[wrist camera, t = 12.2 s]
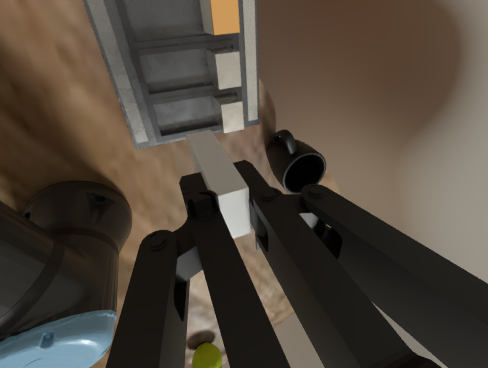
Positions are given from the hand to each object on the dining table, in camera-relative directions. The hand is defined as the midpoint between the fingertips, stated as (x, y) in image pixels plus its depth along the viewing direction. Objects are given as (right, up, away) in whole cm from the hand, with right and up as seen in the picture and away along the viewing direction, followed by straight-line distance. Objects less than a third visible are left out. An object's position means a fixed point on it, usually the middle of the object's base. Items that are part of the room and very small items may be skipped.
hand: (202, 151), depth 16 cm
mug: (+9, +6, +31) cm, 33 cm away
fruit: (-11, -56, +66) cm, 87 cm away
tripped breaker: (-1, +19, +15) cm, 25 cm away
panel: (-5, +14, +19) cm, 24 cm away
